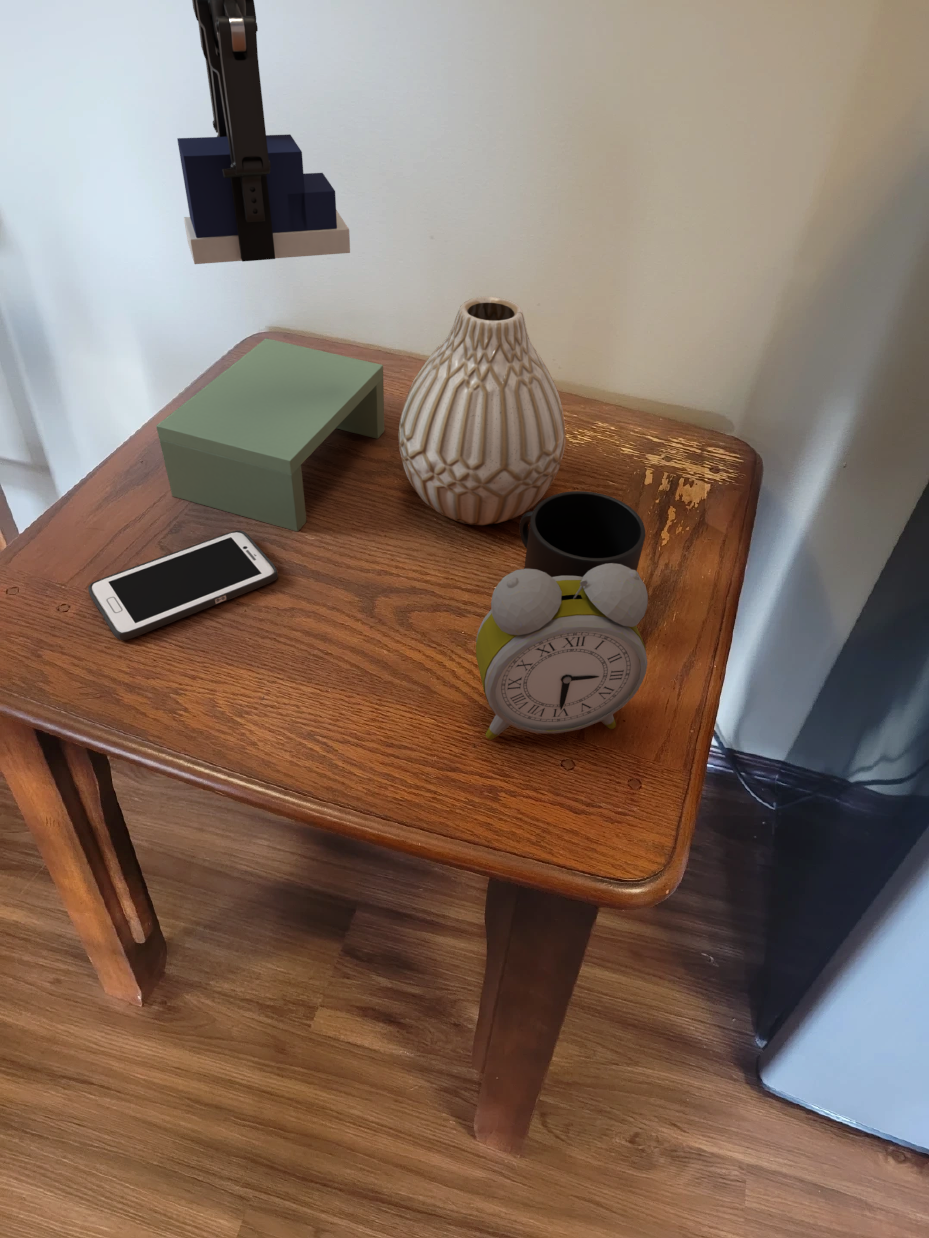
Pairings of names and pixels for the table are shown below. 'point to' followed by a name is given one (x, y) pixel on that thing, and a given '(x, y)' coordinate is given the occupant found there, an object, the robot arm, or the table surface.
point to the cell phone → (181, 584)
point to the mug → (581, 534)
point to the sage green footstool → (267, 428)
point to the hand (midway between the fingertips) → (252, 245)
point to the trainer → (294, 199)
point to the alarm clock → (562, 648)
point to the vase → (483, 419)
